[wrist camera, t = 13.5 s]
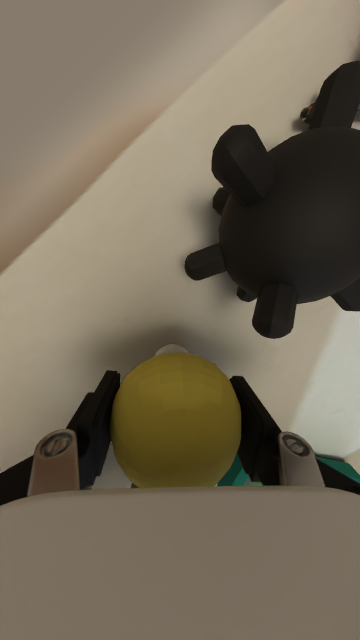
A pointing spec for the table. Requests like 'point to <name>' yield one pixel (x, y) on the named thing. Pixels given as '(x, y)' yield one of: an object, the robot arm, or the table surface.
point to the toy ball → (291, 212)
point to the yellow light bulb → (175, 421)
